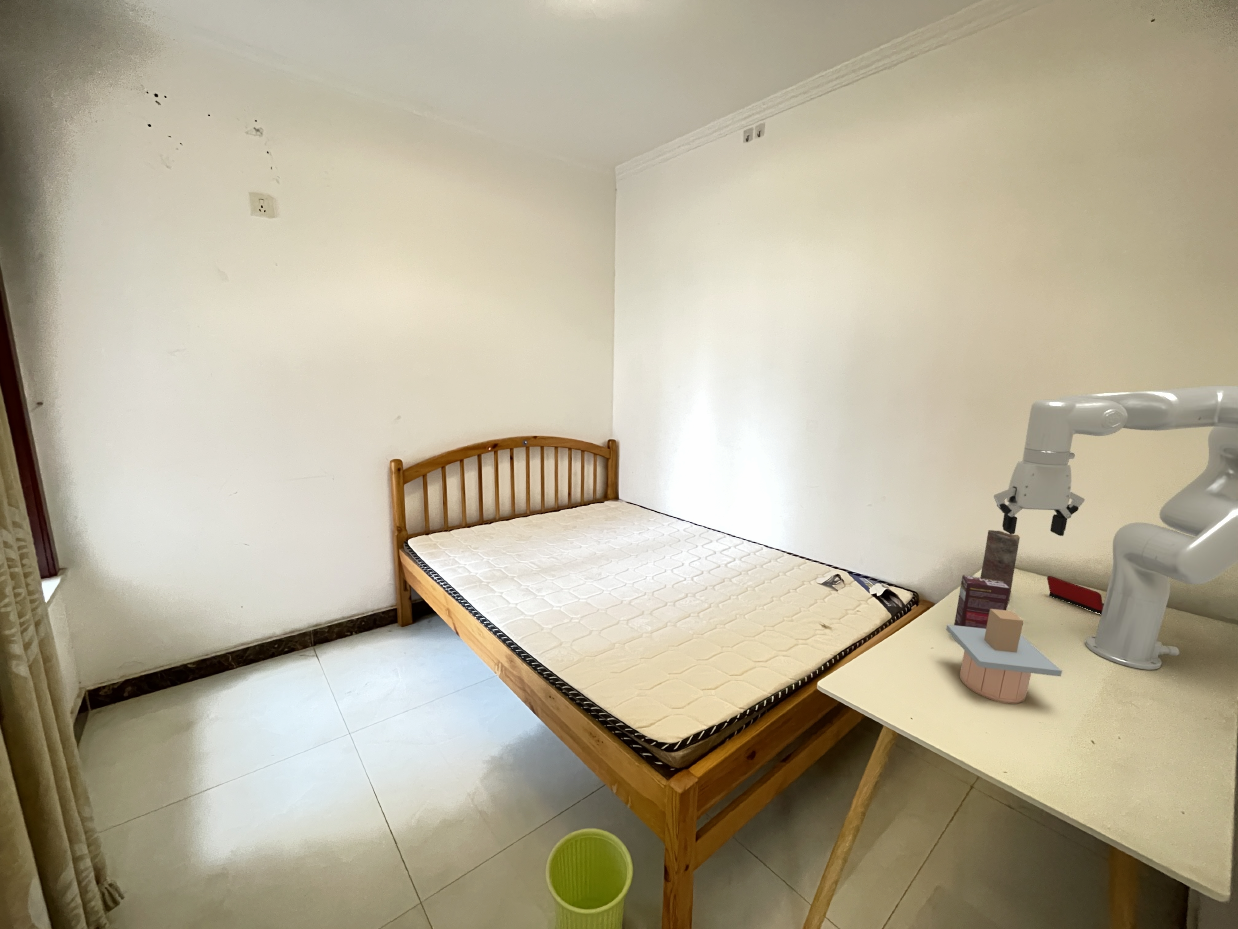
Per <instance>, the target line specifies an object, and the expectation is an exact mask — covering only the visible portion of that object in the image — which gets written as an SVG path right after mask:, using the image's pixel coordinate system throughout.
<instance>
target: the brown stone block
mask: <svg viewBox="0 0 1238 929" xmlns="http://www.w3.org/2000/svg"><path fill="white" fill-rule="evenodd" d="M1020 538H1021V537H1020V536H1019V534H1010V533H1008V532H1006V531H1005V532H1004V531H1002V530H993V529H990V530H987V537H986V543H985V550H984V555H983V560H982V561H983V562H982V566H981V571H980V572H981V573H980V578H987V579H995V580H1002V581H1004V582H1005V583H1006V584H1007V585H1008V586H1009V587H1010V594H1009V599H1008V602H1010V600H1011V599H1010V598H1011V593H1012V586H1013V580H1014V574H1015V568H1016V567H1015V566H1016V563H1017V562H1016V561H1017V555H1018V550H1019V545H1020Z"/></svg>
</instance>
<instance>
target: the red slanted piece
mask: <svg viewBox="0 0 1238 929" xmlns="http://www.w3.org/2000/svg"><path fill="white" fill-rule="evenodd" d="M1046 579H1047V584H1048V590H1049V593H1048V594H1049V597H1050V596H1052V597H1051V598H1053V597H1054V598H1053V599H1056V598H1058V599H1060V600H1059V601H1061V600H1064V601H1066V602H1070V603H1072V604H1071V605H1073V604H1075V605H1074V606H1076V605H1078V606H1081V607H1083V608H1086V609H1088V610H1091V611H1093V612H1097V613H1100V614H1102V610H1103V606H1104V602H1103V597H1102V594H1101V593H1099V591H1096V590H1094V589H1089V588H1087V587H1084V586H1081V585H1078V584H1075V583H1072V582H1070V581H1066V580H1064V579H1060V578H1058V577H1054V576H1053V575H1052V576H1051V575H1047V577H1046ZM1058 599H1057V600H1058ZM1064 601H1063V602H1064ZM1066 602H1065V603H1066ZM1070 603H1069V604H1070ZM1078 606H1077V607H1078ZM1093 612H1092V613H1093Z"/></svg>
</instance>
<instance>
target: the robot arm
mask: <svg viewBox="0 0 1238 929" xmlns="http://www.w3.org/2000/svg"><path fill="white" fill-rule="evenodd" d="M1208 427H1210V428H1211V427H1212V428H1211V430H1210V431H1209V434H1208V437H1207V443H1208V444H1207V445H1208V446H1207V447H1208V461H1207V464H1206V465H1207V466H1206V467H1205V469H1204V470H1203V471H1202V473H1200V475H1198V476H1197V477H1196V478H1195V479H1194V480H1192V481H1191V482H1190V483H1189V484H1187V485H1186V486H1184V488H1183V489H1181V490H1180V491H1178V492H1177V493H1176V494H1174V495H1173V496H1172V497H1171V498H1170V499H1168V500H1167V501H1166V502H1165V503H1164V504H1163V506H1162V507H1161V508H1160V511H1159V515H1158V516H1159V519H1160V521H1161V522H1162V523H1163V524H1164V525H1165V526H1167V527H1169V528H1170V529H1169V528H1166V527H1164V526H1160V525H1157V524H1153V523H1149V522H1148V523H1147V522H1132V523H1128V524H1124V525H1123V526H1121V527H1120V528H1119V529H1118V530H1117V531H1116V532H1115V534H1114V537H1113V540H1112V567H1111V568H1112V569H1111V574H1110V578H1109V582H1108V586H1107V589H1106V590H1107V591H1106V594H1105V599H1104V602H1103V603H1104V606H1103V610H1102V614H1101V615H1100V618H1099V623H1098V627H1097V631H1096V635H1095V634H1094V635H1089V636H1087V637H1086V638H1085V643H1084V644H1085V646H1086V647H1087V649H1089V650H1090V651H1091V652H1093V653H1094V654H1097V655H1098V656H1100V657H1102V658H1104V659H1105V660H1108V661H1110V662H1114V663H1115V664H1116V663H1117V664H1118V665H1119V664H1120V665H1122V666H1125V667H1129V668H1134V669H1139V670H1148V671H1149V670H1150V671H1151V670H1157V669H1159V668H1161V666H1162V660H1161V658H1160V657H1159V656H1162V655H1166V656H1167V655H1168V656H1178V655H1180V650H1179V648H1178V647H1177V646H1171V645H1163V642H1161V641H1158V637H1159V634H1160V630H1161V627H1162V623H1163V619H1164V616H1165V611H1166V609H1167V605H1168V601H1169V597H1170V594H1171V584H1170V579H1169V578H1171V579H1173V580H1175V581H1179V582H1181V583H1185V584H1188V585H1201V584H1202V585H1203V584H1206V583H1208V582H1211V581H1213V580H1214V579H1216V578H1219V577H1220V576H1221V575H1222V574H1224V573H1225V572H1226V571H1228V570H1229V569H1230V568H1232V567H1233V566H1235V565H1236V564H1237V563H1238V385H1206V386H1193V387H1185V388H1169V389H1158V390H1140V391H1128V392H1127V391H1126V392H1125V391H1124V392H1107V393H1090V394H1088V393H1087V394H1079V395H1078V394H1076V395H1067V396H1061V397H1058V398H1056V399H1038V400H1035V401H1034V402H1033V403H1032V405H1031V407H1030V411H1029V418H1028V423H1027V428H1026V436H1025V444H1024V449H1023V455H1022V461H1017V463H1016V465H1015V467H1014V469H1013V471H1012V474H1011V477H1010V478H1011V479H1010V482H1009V484H1008V488H1007V489H1005V490H1003V491H1001V492H999V493H996V494H994V495H993V500H994V501H995V503H996V506H997V508H998V509H999V510H1000V511H1001V513H1003V518H1002V519H1003V520H1002V525H1001V526H1002V530H1003V532H1004V531H1005V533H1008V534H1012V535H1015V533H1016V529H1017V523H1018V517H1017V516H1016V515H1017V514H1018V513H1019V512H1020V511H1021V510H1023V509H1024V510H1044V511H1046V510H1047V511H1054V512H1055V513H1056V514H1055V513H1054V514H1053V515H1052V518H1051V524H1050V529H1049V530H1050V532H1051V533H1053V534H1055V535H1057V536H1060V537H1064V535H1065V531H1066V527H1067V524H1068V519H1071V518H1072V515H1073V514H1075V513H1077V512H1078V511H1079V508H1080V507H1081V506H1082V505H1083V503H1084V502H1085V501H1086V500H1085V498H1084V497H1082V496H1080V495H1079V494H1077V493H1074V492H1073V491H1072V469H1071V465H1070V464H1069V461H1070V460H1073V459H1075V456H1076V455H1075V452H1071V447H1072V443H1073V437H1074V435H1075V434H1077V435H1084V436H1085V435H1087V436H1091V437H1092V436H1094V437H1103V436H1104V437H1105V436H1110V435H1113V434H1116V433H1117V432H1119V431H1120V430H1122V429H1127V430H1137V431H1155V432H1156V431H1172V430H1181V429H1182V430H1183V429H1196V428H1208ZM1005 500H1006V502H1007V503H1008V504H1006V502H1005ZM1070 500H1071V502H1070ZM1173 529H1174V530H1173Z"/></svg>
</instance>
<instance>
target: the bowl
mask: <svg viewBox="0 0 1238 929" xmlns="http://www.w3.org/2000/svg"><path fill="white" fill-rule="evenodd" d="M1031 676H1032V673H1026V672H1018V671H1009V670H1001V669H992V668H984V667H979V666H978V665H977V664H976V663H975V662H974V661H973V660H972V658H971V657H970V656H969V655H968V654H967V653H966V652H965V650H964V649H963V656H962V661H961V667H960V672H959V678H960V680H961V682H962V684H963V685H964V686H966V687H967V688H968V689H969V690H971V691H972V692H975V694H977V695H979V696H982V697H983V698H985V699H989V700H991V701H995V702H998V703H1002V704H1010V705H1011V704H1020V703H1023V702H1024V701H1025V700H1026V698H1027V694H1028V689H1029V686H1030V680H1031Z"/></svg>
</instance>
